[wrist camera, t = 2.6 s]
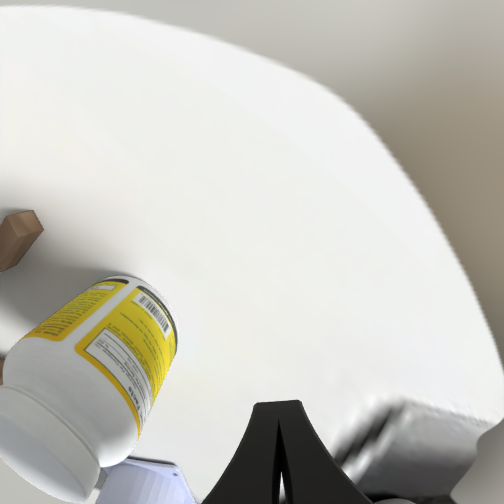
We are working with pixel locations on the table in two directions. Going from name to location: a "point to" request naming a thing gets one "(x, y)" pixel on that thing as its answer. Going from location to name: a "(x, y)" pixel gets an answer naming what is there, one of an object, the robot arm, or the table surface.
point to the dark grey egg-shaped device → (394, 501)
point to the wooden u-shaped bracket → (16, 243)
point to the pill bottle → (85, 385)
